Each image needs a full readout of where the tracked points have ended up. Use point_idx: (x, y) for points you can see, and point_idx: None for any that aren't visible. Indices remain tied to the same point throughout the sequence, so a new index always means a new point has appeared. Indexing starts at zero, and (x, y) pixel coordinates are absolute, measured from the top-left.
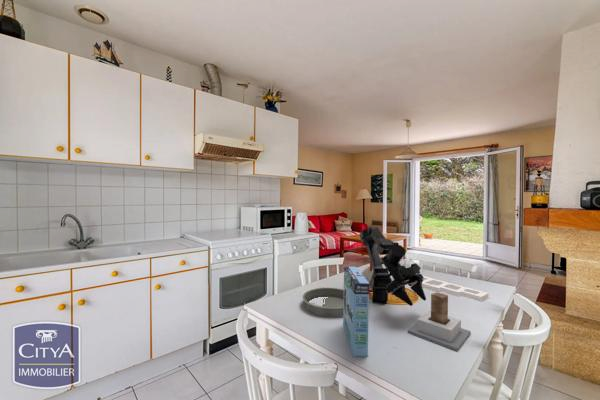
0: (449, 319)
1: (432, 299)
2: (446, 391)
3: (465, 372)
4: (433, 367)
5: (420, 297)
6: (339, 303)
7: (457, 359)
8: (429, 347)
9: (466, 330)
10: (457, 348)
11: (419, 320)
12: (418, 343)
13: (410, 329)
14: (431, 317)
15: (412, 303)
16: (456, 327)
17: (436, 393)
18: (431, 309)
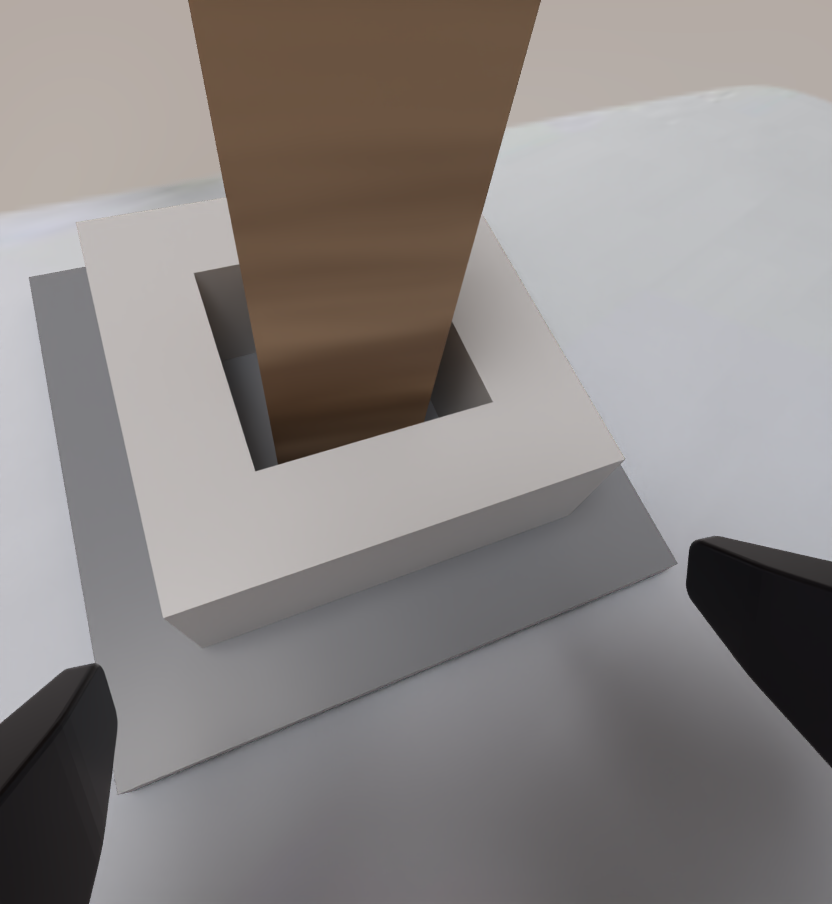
0: (197, 289)
1: (496, 97)
2: (796, 100)
3: (598, 114)
4: (748, 199)
5: (99, 859)
6: None
7: (539, 178)
8: (623, 324)
9: (53, 299)
10: None
11: (607, 440)
12: (674, 395)
13: (636, 560)
14: (432, 374)
15: (715, 540)
16: None
17: None
18: (454, 292)
